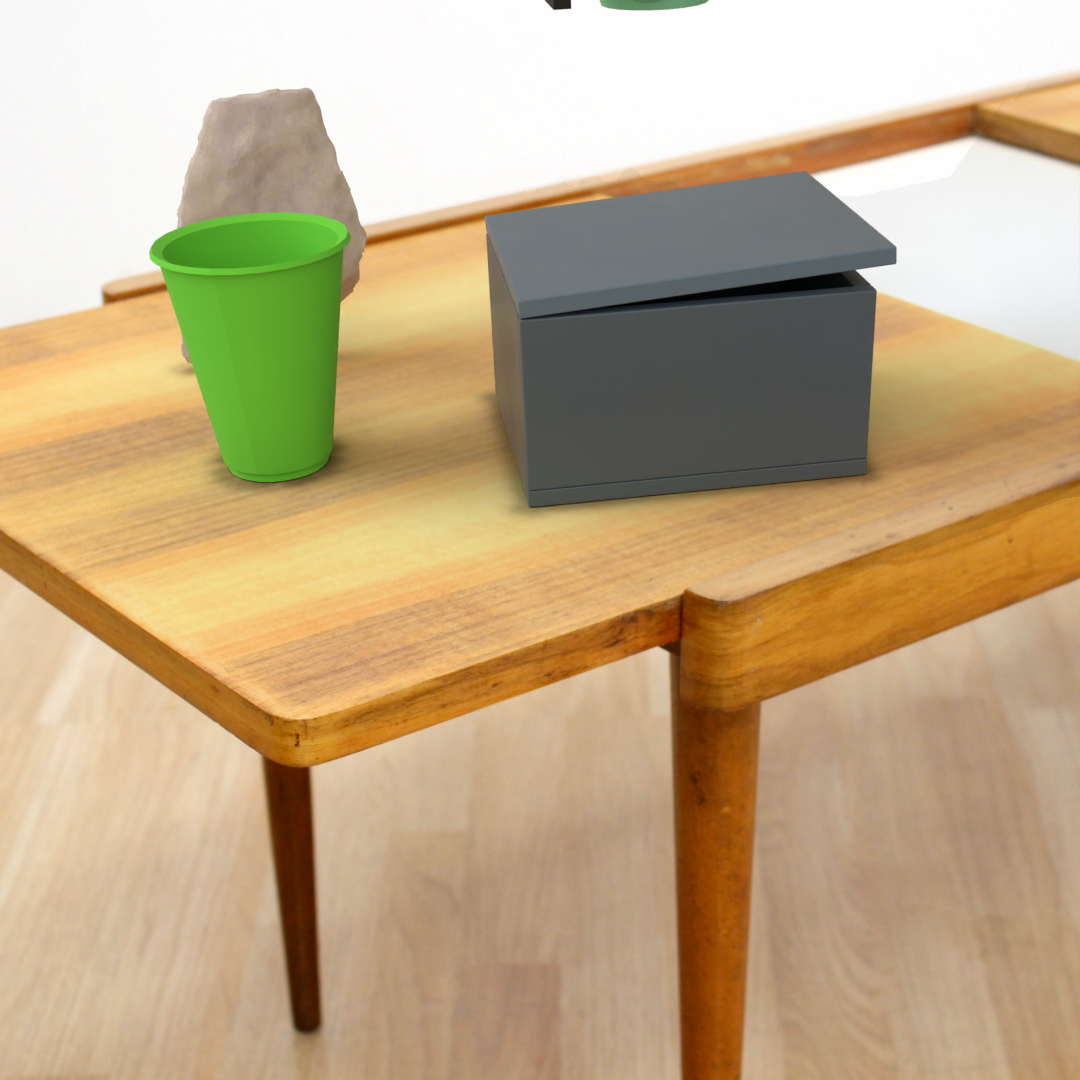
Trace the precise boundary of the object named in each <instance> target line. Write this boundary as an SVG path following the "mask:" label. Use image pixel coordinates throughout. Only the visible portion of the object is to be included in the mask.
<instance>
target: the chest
mask: <svg viewBox="0 0 1080 1080" xmlns="http://www.w3.org/2000/svg"><path fill="white" fill-rule="evenodd" d="M485 238H486V239H485V240H486V253H487V254H486V256H487V270H488V271H487V273H488V274H487V275H488V289H489V290H488V291H489V305H490V321H491V322H490V323H491V340H492V352H493V353H492V355H493V357H492V358H493V373H494V389H495V390H494V391H495V398H496V401H497V404H498V409H499V411H500V415H501V418H502V422H503V424H504V427H505V432H506V434H507V435H506V436H507V438H508V441H509V444H510V448H511V450H512V454H513V458H514V461H515V466H516V468H517V472H518V474H519V479H520V481H521V485H522V488H523V491H524V494H525V498H526V502H527V505H528V507H529V508H535V507H546V506H556V505H565V504H576V503H586V502H597V501H606V500H617V499H626V498H637V497H638V498H639V497H646V496H647V497H648V496H657V495H667V494H678V493H687V492H688V493H689V492H699V491H700V492H701V491H710V490H717V489H719V490H720V489H729V488H730V489H731V488H740V487H749V486H759V485H761V486H762V485H771V484H779V483H789V482H790V483H791V482H801V481H811V480H822V479H831V478H842V477H852V476H853V477H854V476H862V475H863V476H864V475H866V474H867V465H868V458H867V457H868V446H869V445H868V444H869V430H870V429H869V427H870V413H871V412H870V411H871V398H872V397H871V395H872V394H871V393H872V377H873V362H874V344H875V329H876V328H875V327H876V313H877V312H876V311H877V294H878V291H877V289H876V288H875V287H874V286H873V285H872V284H871V282H869V281H868V280H867V279H866V278H865V277H864V276H863V275H862V274H860V273H859V272H858V270H852V271H845V272H838V273H831V274H824V275H818V276H811V277H804V278H797V279H790V280H783V281H776V282H769V283H763V284H756V285H749V286H742V287H735V288H728V289H721V290H715V291H708V292H701V293H694V294H687V295H680V296H673V297H666V298H660V299H653V300H646V301H639V302H632V303H625V304H618V305H611V306H605V307H598V308H591V309H584V310H577V311H570V312H563V313H557V314H550V315H543V316H536V317H529V318H522V319H521V318H520V317H519V314H518V312H517V309H516V306H515V304H514V301H513V299H512V296H511V293H510V291H509V288H508V286H507V283H506V280H505V278H504V275H503V273H502V270H501V267H500V265H499V262H498V259H497V257H496V254H495V252H494V249H493V246H492V244H491V241H490V239H489V236H488V233H487V232H486V233H485Z"/></svg>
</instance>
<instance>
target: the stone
mask: <svg viewBox="0 0 1080 1080" xmlns="http://www.w3.org/2000/svg"><path fill="white" fill-rule="evenodd" d="M327 132H328V131H327V128H326V126H325V123H324V119H323V114H322V109H321V106H320V104H319V102H318V100H317V98H316V95H315V92H314V91H313V90H312V89H311V88H309V87H301V88H298V89H294V88H292V89H291V88H289V89H279V88H271V89H266V90H263V91H260V92H255V93H254V92H253V93H241V94H237V95H233V96H227V97H219V98H216V99H212V100H211V101H210V103H208V106H207V107H206V111H205V112H204V115H203V118H202V126H201V128H200V131H199V133H198V134H197V146H196V148H195V151H194V153H193V155H192V156H191V158H190V160H189V162H188V165H187V170H186V172H185V175H184V183H183V185H182V193H181V199H180V204H179V206H178V208H177V212H176V216H177V226H176V229H178V228H180V227H183V226H187V225H190V224H193V223H197V222H201V221H206V220H210V219H215V218H220V217H227V216H234V215H241V214H254V213H278V212H288V213H305V214H312V215H318V216H324V217H327V218H331V219H334V220H337V221H338V222H340V223H342V224H343V225H345V227H346V228H347V230H348V232H349V233H350V235H351V238H350V241H349V244H348V245H346V246H345V247H344V248H343V266H342V285H341V303H342V302H343V301H344V300H345V299H346V298H347V297H349V296H350V295H351V294H352V293H353V292H354V288H356V286H357V284H358V283H359V281H360V275H361V272H360V262H361V260H362V258H363V253H365V248H366V245H367V241H368V236H367V234H368V233H367V231H366V230H365V228H364V227H363V226H362V224H361V222H360V218H359V213H358V209H357V205H356V203H355V200H354V197H353V195H352V191H351V187H350V185H349V183H348V181H347V179H346V177H345V175H344V172H343V170H341V168H340V164H339V162H338V157H337V156H338V155H337V150H336V147H335V145H334V143H333V142H332V140H331V139H330V136H329V135H328V133H327ZM180 334H181V345H180V349H181V355H182V357H183V358H184V359H185V361H186V362H187V363H189V364H192V363H191V360H190V357H189V353H188V350H187V347H186V344H185V341H184V338H183V335H182V332H181V331H180Z"/></svg>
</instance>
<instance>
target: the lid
mask: <svg viewBox="0 0 1080 1080" xmlns="http://www.w3.org/2000/svg"><path fill="white" fill-rule="evenodd" d="M484 224H485V231H486V233H488V236H489V239H490V241H491V244H492V246H493V249H494V252H495V254H496V257H497V259H498V262H499V265H500V267H501V270H502V273H503V275H504V278H505V280H506V283H507V286H508V288H509V291H510V293H511V296H512V299H513V301H514V304H515V306H516V309H517V312H518V314H519V317H520V318H521V319H522V318H529V317H536V316H543V315H550V314H557V313H563V312H570V311H577V310H584V309H591V308H598V307H605V306H611V305H618V304H625V303H632V302H639V301H646V300H653V299H660V298H666V297H673V296H680V295H687V294H694V293H701V292H708V291H715V290H721V289H728V288H735V287H742V286H749V285H756V284H763V283H769V282H776V281H783V280H790V279H797V278H804V277H811V276H818V275H824V274H831V273H838V272H845V271H852V270H856V271H859V270H865V269H866V270H867V269H870V268H871V269H873V268H879V267H885V266H892V265H897V257H898V255H897V246H896V245H895V244H894V243H893V242H892V241H890V240H889V239H888V238H886V237H885V236H884V235H883V234H882V233H881V232H880V231H879V230H877V229H876V228H875V227H874V226H872V225H871V224H870V223H869V222H868V221H866V220H865V219H864V218H863V217H861V215H859V214H858V213H857V212H855V210H854V209H852V208H851V207H850V206H849V205H847V204H846V203H844V201H842V200H841V199H840V198H839V197H837V196H836V195H835V194H834V193H833V192H832V191H831V190H829V188H827V187H826V186H824V185H823V184H822V183H821V182H820V181H819V180H818V179H816V178H815V177H813V176H812V175H811V174H810V173H808V172H807V170H802V171H794V172H786V173H779V174H771V175H765V176H758V177H750V178H744V179H737V180H729V181H721V182H715V183H707V184H701V185H700V184H699V185H694V186H686V187H679V188H672V189H666V190H657V191H651V192H644V193H643V192H642V193H636V194H629V195H622V196H615V197H614V196H613V197H608V198H607V197H606V198H601V199H594V200H593V199H592V200H587V201H586V200H585V201H580V202H573V203H566V204H558V205H550V206H543V207H538V208H537V207H535V208H529V209H523V210H517V211H508V212H501V213H493V214H487V215H485V216H484Z"/></svg>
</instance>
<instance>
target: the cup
mask: <svg viewBox="0 0 1080 1080" xmlns="http://www.w3.org/2000/svg"><path fill="white" fill-rule="evenodd" d="M350 238H351V235H350V233H349V232H348V230H347V228H346V227H345V225H343V224H342V223H340V222H338V221H337V220H334V219H331V218H327V217H324V216H318V215H312V214H305V213H288V212H278V213H254V214H241V215H234V216H227V217H220V218H215V219H210V220H206V221H201V222H197V223H193V224H190V225H187V226H183V227H180V228H178V229H177V228H176V229H173V230H171V231H169V232H166V233H164V234H163V235H161V236H160V237H159V238H157V239H155V240H154V241H153V243H152V245H151V246H150V249H149V252H148V254H149V260H150V261H151V262H152V263H154V264H155V265H156V266H157V267H160V270H161V273H162V276H163V277H162V278H163V280H164V283H165V286H166V289H167V292H168V295H169V298H170V301H171V304H172V308H173V311H174V314H175V317H176V319H177V323H178V325H179V329H180V333H181V332H182V334H181V336H182V335H183V338H184V341H185V344H186V347H187V350H188V353H189V357H190V360H191V363H190V364H191V367H192V369H193V372H194V375H195V378H196V381H197V384H198V386H199V390H200V393H201V397H202V399H203V402H204V406H205V408H206V411H207V414H208V417H209V421H210V424H211V427H212V430H213V433H214V437H215V440H216V442H217V445H218V448H219V451H220V454H221V457H222V461H223V462H224V464H225V465H226V466H227V467H228V469H229V471H230V472H231V473H232V475H234V476H235V477H237V478H240V479H243V480H245V481H249V482H259V483H275V482H285V481H291V480H296V479H299V478H303V477H306V476H309V475H311V474H313V473H315V472H317V471H319V470H321V468H323V467H325V466H326V464H327V463H328V462H329V460H330V455H331V453H332V452H333V447H334V434H335V432H334V431H335V415H336V414H335V413H336V396H337V395H336V394H337V377H338V376H337V375H338V360H339V359H338V356H339V338H340V337H339V336H340V319H341V303H342V302H341V285H342V266H343V248H344V247H345V246H346V245H348V244H349V241H350Z"/></svg>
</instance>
